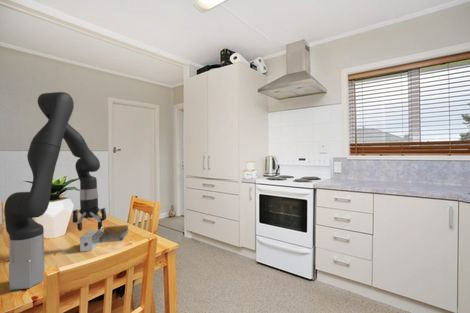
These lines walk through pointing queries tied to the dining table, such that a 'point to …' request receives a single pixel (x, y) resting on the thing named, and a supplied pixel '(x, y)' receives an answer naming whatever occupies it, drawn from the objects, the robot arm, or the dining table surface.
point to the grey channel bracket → (113, 233)
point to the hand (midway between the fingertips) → (90, 229)
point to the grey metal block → (89, 240)
